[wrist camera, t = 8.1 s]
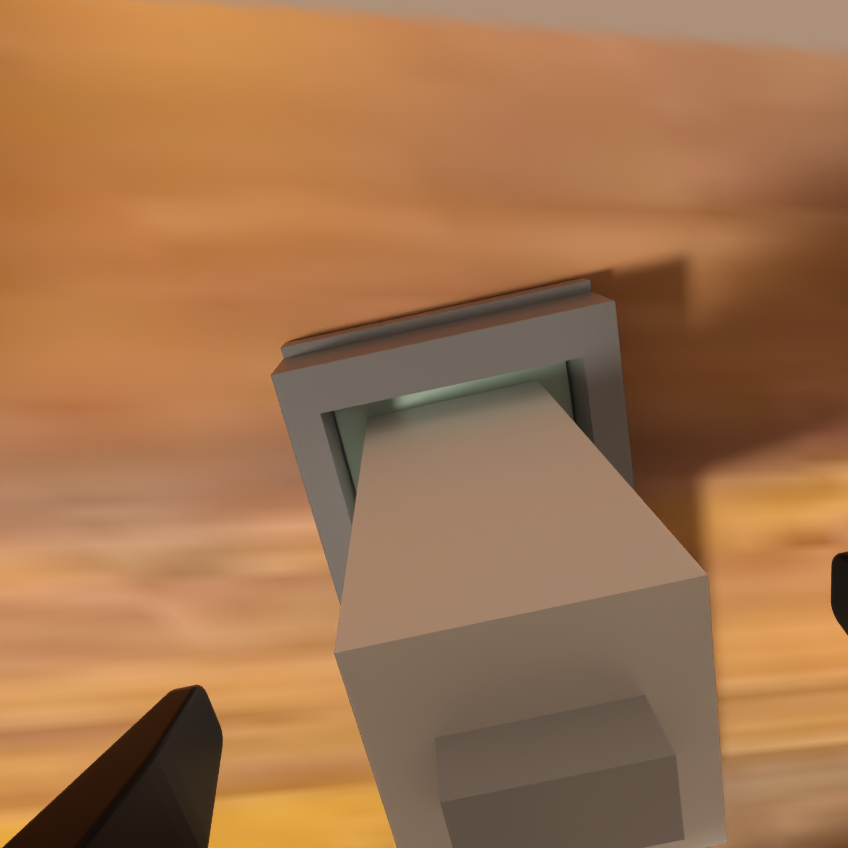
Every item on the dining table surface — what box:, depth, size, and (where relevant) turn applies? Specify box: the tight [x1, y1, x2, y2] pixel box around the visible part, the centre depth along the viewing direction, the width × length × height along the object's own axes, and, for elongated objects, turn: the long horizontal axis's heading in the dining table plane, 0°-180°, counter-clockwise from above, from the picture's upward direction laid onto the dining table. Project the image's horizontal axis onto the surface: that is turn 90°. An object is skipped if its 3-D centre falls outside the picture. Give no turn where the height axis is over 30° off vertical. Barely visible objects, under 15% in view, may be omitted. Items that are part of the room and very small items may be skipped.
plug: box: [334, 380, 727, 848], centre depth 10 cm, size 4×4×9 cm
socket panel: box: [271, 278, 635, 605], centre depth 16 cm, size 16×7×2 cm, turn 12°
